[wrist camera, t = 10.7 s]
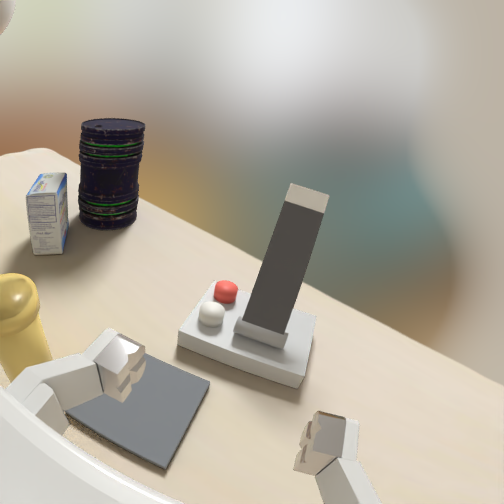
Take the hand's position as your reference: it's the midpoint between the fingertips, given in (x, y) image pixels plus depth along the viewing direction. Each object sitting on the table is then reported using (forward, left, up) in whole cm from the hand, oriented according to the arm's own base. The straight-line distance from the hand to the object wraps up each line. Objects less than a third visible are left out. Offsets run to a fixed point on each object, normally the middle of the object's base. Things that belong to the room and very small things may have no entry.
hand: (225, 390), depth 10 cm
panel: (-1, +17, -14) cm, 22 cm away
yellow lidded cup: (-15, +1, -14) cm, 21 cm away
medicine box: (-31, +19, -14) cm, 39 cm away
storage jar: (-29, +30, -14) cm, 44 cm away
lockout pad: (-7, +5, -14) cm, 17 cm away
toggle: (0, +15, -11) cm, 19 cm away
